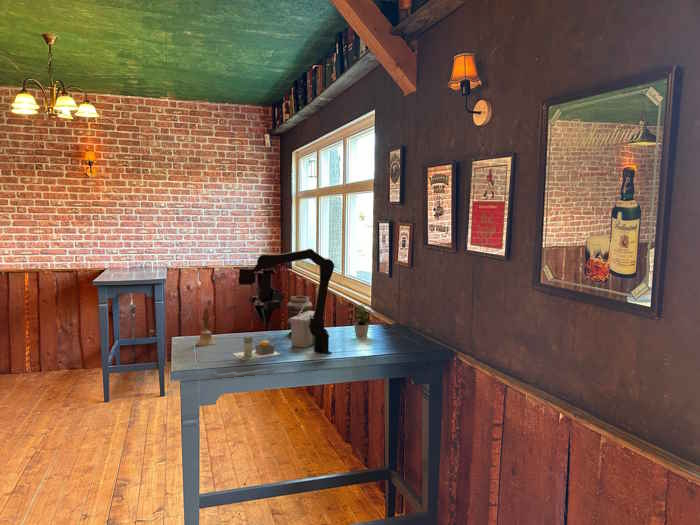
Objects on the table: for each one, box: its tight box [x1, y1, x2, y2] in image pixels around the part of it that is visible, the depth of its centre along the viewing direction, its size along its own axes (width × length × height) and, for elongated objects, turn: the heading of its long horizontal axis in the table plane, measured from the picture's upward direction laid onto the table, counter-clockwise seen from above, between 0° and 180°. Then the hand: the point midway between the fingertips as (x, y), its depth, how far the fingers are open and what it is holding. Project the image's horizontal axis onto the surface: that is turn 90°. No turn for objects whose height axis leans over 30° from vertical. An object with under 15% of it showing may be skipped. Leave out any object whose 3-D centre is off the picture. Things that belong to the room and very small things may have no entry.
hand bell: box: [196, 307, 217, 347], centre depth 229 cm, size 8×8×16 cm
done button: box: [259, 340, 270, 347], centre depth 214 cm, size 4×4×2 cm
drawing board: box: [232, 349, 280, 361], centre depth 211 cm, size 11×16×1 cm
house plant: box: [348, 304, 374, 339], centre depth 247 cm, size 14×14×16 cm
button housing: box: [255, 342, 275, 355], centre depth 214 cm, size 6×6×3 cm
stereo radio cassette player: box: [289, 296, 315, 349], centre depth 232 cm, size 21×8×20 cm, turn 160°
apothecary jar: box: [286, 295, 313, 335], centre depth 251 cm, size 12×12×18 cm
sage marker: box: [243, 336, 253, 357], centre depth 207 cm, size 3×3×8 cm
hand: (264, 323), depth 213 cm, fingers open, 4 cm apart
